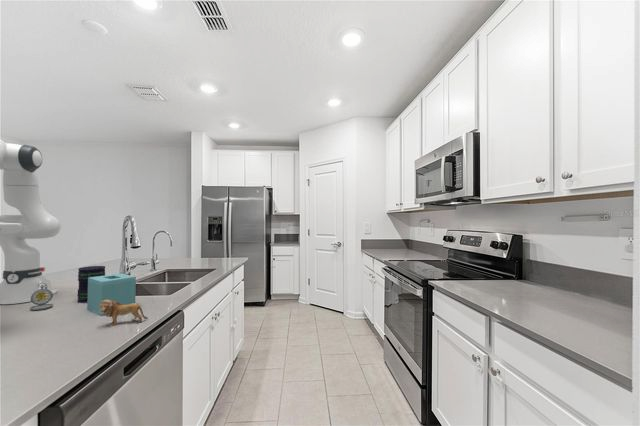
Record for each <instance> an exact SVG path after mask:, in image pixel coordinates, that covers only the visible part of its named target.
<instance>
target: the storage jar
mask: <svg viewBox="0 0 640 426" xmlns="http://www.w3.org/2000/svg"><path fill="white" fill-rule="evenodd" d="M105 269H106V266H105V265H91V266H83V267H79V268H78V272H77V277H78V278H77V281H78V289H77V293H76V294H77V303H78V304H87V299H88V278H90V277H97V276H105V275H106V270H105Z"/></svg>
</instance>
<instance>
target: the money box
mask: <svg viewBox="0 0 640 426" xmlns="http://www.w3.org/2000/svg"><path fill="white" fill-rule="evenodd" d="M136 286H137V277H136V276H134V275H130V274H126V273H120V272H119V273H115V274H105V276H97V277H90V278H88V299H87V303H86V304H87V305H86V308H87V311H91V312H92V313H95V314H97V315H99V316H106V315H105V314H102V313H101V312H100V311H99V307H100V302H102V301H104V300H113V301H115V302H119V303H120V304H122V305H128V304H132V303H136V293H137V292H136Z"/></svg>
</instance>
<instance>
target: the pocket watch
mask: <svg viewBox="0 0 640 426" xmlns="http://www.w3.org/2000/svg"><path fill="white" fill-rule="evenodd" d="M40 284H42V283H40ZM40 284H39V285H40ZM44 284H46V283H44ZM39 285H38V286H39ZM46 285H47V284H46ZM46 285H45V286H46ZM39 287H41V289H39V290H37V291H35V292H34V293H33V294H32V295H31V301H30V302H31V303H33V304H34V306H31V307H30V310H31V311H43V310H47V309H51V308H52V307H53V306H54V304H52V303H49V302H50V301H52V299H53V298H54V294H52V292H51V291H50V290H48V289H43V287H44V286H43V285H41V286H39ZM45 294H47V295H48V297H47V295H45ZM45 297H47V298H45ZM36 298H37V299H36ZM39 298H40V299H41V300H40V299H39Z"/></svg>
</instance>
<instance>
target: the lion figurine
mask: <svg viewBox="0 0 640 426" xmlns="http://www.w3.org/2000/svg"><path fill="white" fill-rule="evenodd" d="M99 311H100V312H101V313H102V314H105V315H104V316H106V318H107V317H108V318H111V319H112V321H111V324H110V325H111V326H115V325H117V319H118V317H119V316H126V315H128V314H129V315H130V314H131V315H132V316H134V318H132V319H131V321H132V322H134V321H136V320H137V319H139V320H137V323H138V324H139V323H142V321H143V319H145V320H146V319H149V318H148V317H147V316H145V315H144V312H143V308H142V307H141V305H140V304H138V303H136V302H135V303H132V304H128V305H122V304H120V303H119V302H115V301H113V300H104V301H102V302H100V307H99ZM139 311H140V313H139Z"/></svg>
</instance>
